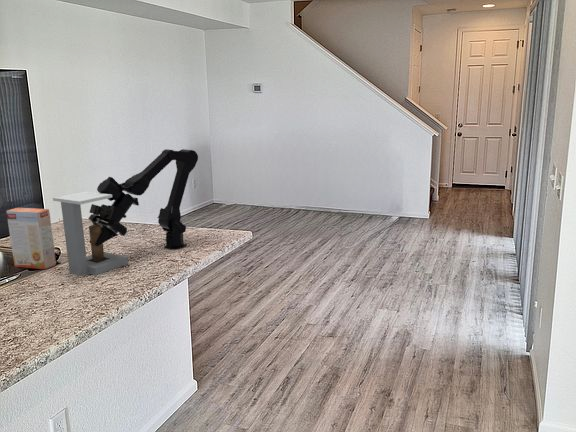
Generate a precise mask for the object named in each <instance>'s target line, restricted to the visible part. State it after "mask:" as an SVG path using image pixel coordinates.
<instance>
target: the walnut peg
mask: <svg viewBox="0 0 576 432" xmlns="http://www.w3.org/2000/svg"><path fill="white" fill-rule="evenodd" d="M88 231H89V241H90V242H91V243H90V248H91V249H90V250H91V255H92V259H93V262H96V263H98V262H101V261H104V260H105V258H104V252H105V251H104V243H102V244H101V245H99V246H96V245H95V243H96V241H97V239H98V238H99V236H100V234H101V232H102V231H101V225H93V224H91V225H89V226H88Z"/></svg>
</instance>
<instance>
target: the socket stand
mask: <svg viewBox="0 0 576 432" xmlns="http://www.w3.org/2000/svg"><path fill="white" fill-rule="evenodd" d="M108 198H112V194H104V193H99V192H95V191H82V192H75V193H71V194H70V193H69V194H66V195H61V196H55V197H52V201H53V202H59V203H60V205H61V207H60V208H61V215H62V222H63V230H64V237H65V238H64V239H65V246H66V247H65V248H66V254H67V261H68V262H67V263H68V271H69V274H70V275H71V274H72V275H75V276H79V277H82V276H85V275H87V274H89V275H93V276H98V275H101V274H103V273H106V272H109V271H111V270H115V269H117V268H120V267H123V266H125V265H129V258H128V257H129V256H125V255H120V254H115V253H111V252H106V251H104V258H105V260H104V261H101V262H98V263H96V262H93V259H92V254H90V255H87V252H86V251H87V249H86V243H85V235H84V234H85V232H84V226H83V225H84V224H83V217H82V207H81V205H84V204H88V203H94V202H98V201H103V200H108Z"/></svg>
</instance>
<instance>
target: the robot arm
mask: <svg viewBox="0 0 576 432" xmlns="http://www.w3.org/2000/svg"><path fill="white" fill-rule="evenodd" d="M198 160H199V155H198V153H197V152H196V151H195V150H194V149H185V148H183V149H180V150H174V149H164V150H162V151H161V153H160V154H159V155H158V156H157V157H155V159H153V161H151V162H150V163H149V164H148V165H147V166H146V167H144V169H143V170H142V171H140V172H139V173H137V174H133V175H132V176H131V177H129V178H128V179H126V180H125V181H124V182H122V183H119V182H118V181H116V180H115V178H113V177H112V176H108V177H107V178H106V179H103V181H102V182H100V183H99V184H98V186H97V187H96V190H97V193H104V194H112V198H108V199H107V200H108V201H109V202H110V201H111V202H112V201H113V202H112V203H111V205H106V204H101V205H97V204H93V203H92V204H91V206H90V209H89V211H88V213H90V215H89V217H88V218H87V219H88V220H89V221H90V222H91V224H92V225H101V231H102V232H101V234H100V236H99V238H98V239H97V241H96V243H95V245H96V246H99V245H101V244H102V243H103V244H104V243H106V242H107V241H109V240H111V239H113V238H115V237H118V236H119V235H120V236H124V237H125V236H126V234H127V232H128V229H127V227H126V226H125V225H123V224H122V223H121V220H123V219H126V218H127V215H126V214H127V212H129V210H130V208H131V206H132V205H134V206H139V205H140V203H139V198H138V197H134V196H142V195H143V194H145V192H146V191H147V189H148V188H149V187H150V184H151V182H152V180H153V179H154V178H156V176H157V175H159V174H160V173H161V172H162V170H164V169H165V168H166V167H167V166H168V165H169V164H170V163H171V162H172V161H175V165H176V166H175V167H176V173H175V177H174V180H173V183H172V186H171V187H172V188H171V190H170V195H169V198H168V201H167V205H166V206H165V207H164V208H163V207H161V208H160V209H159V213H158V216H157V219H158V221H157V222H158V225H159V226H160V227H161V228H162V230H163V231H164V232H165V245H164V246H163V248H167V249H172V250H177V249H181V248H184V247H187V243H185V242H184V233H185V232H186V230H187V226H186V225H184V223H182V222H181V221H182V218H181V217H182V216H181V209H180V208H181V205H182V201H183V198H184V194H185V190H186V187H187V183H188V179H189V175H190V173H192V171H194V169H195V168H196V165H197V162H198ZM125 192H126V193H125ZM133 195H134V196H133ZM89 244H91V242H90V240H89Z"/></svg>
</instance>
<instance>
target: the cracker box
mask: <svg viewBox="0 0 576 432" xmlns="http://www.w3.org/2000/svg"><path fill="white" fill-rule="evenodd" d="M50 214H51V213H50V209H49V208H34V207H14V208H11V209H7V210H6V219H7V225H8V232H9V238H10V239H9V240H10V245H11V251H12V258H13V264H14V265H13V266H14V267H16V268H26V269H34V270H35V269H37V270H47V269H50V268H51V267H54V266H56V265H57V262H56V261H57V260H56V254H55V253H56V252H55V243H54V237H53V230H52V229H53V228H52V222H51V221H52V220H51V215H50Z"/></svg>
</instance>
